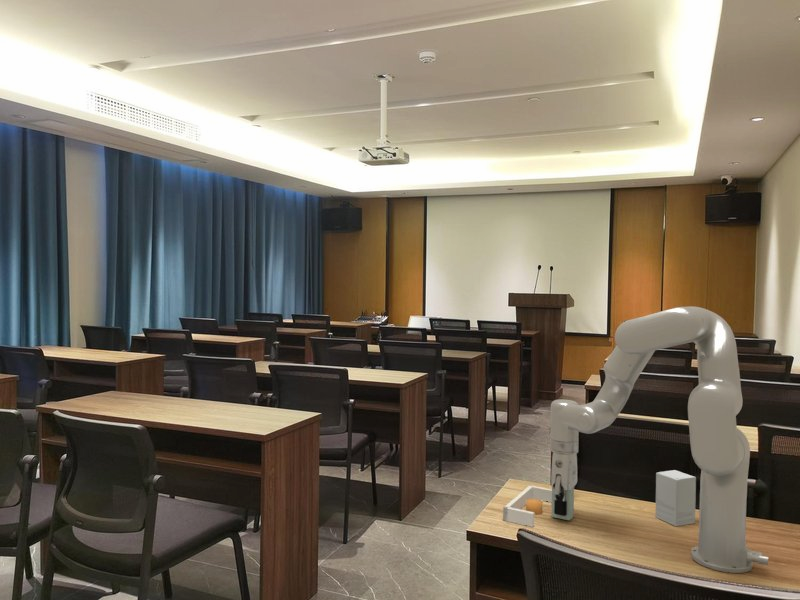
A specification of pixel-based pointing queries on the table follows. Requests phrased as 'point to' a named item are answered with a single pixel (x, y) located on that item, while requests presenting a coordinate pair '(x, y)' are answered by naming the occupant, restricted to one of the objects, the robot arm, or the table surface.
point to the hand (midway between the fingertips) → (562, 511)
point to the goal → (513, 508)
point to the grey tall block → (569, 504)
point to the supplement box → (675, 497)
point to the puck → (534, 506)
